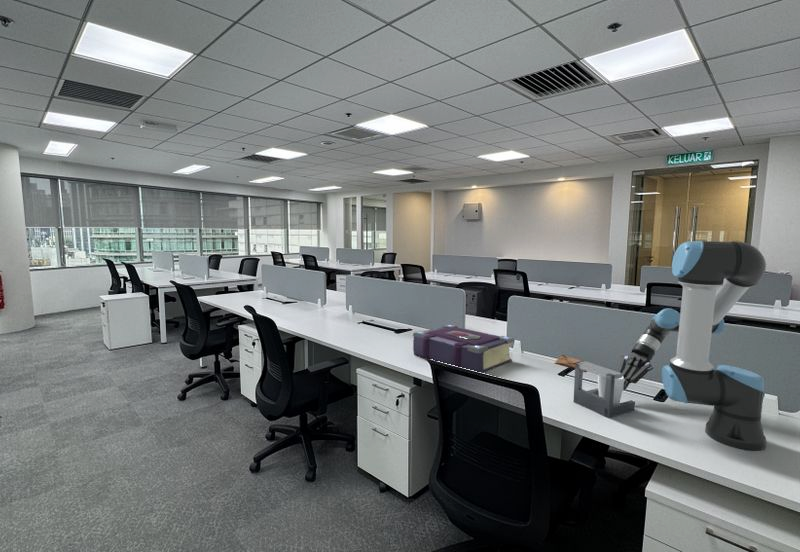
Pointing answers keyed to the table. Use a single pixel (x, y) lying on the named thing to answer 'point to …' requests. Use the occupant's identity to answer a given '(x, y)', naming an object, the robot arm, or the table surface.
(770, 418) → the table surface
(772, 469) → the table surface
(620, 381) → the cup
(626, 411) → the grey plastic frame
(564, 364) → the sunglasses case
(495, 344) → the book
